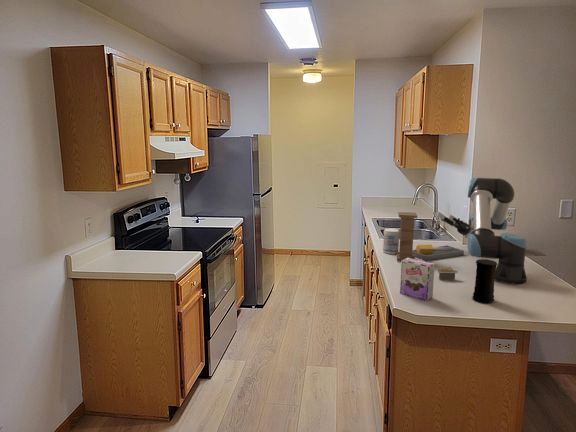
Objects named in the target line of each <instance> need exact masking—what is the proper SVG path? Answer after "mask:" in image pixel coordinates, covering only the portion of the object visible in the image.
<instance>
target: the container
mask: <svg viewBox="0 0 576 432" xmlns="http://www.w3.org/2000/svg"><path fill="white" fill-rule="evenodd" d="M475 264H476V270H475V281H474V282H475V283H474V289H473V293H472V300H473V301H475V302H476V303H479V304H484V305H485V304H486V305H487V304H493V303H494V302H495V294H494V293H495V282H496V281H495V280H496V279H495V273H496V272H495V269H496V267H497V265H498V262H497V261H496V260H492V259H489V258H488V259H487V258H484V259H483V258H480V259H476V261H475Z"/></svg>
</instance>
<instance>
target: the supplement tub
mask: <svg viewBox="0 0 576 432" xmlns="http://www.w3.org/2000/svg"><path fill="white" fill-rule="evenodd" d="M382 245H383V247H382V248H383V249H382V251H383V253H384V254H387V253H388V254H387V255H396V253H397V254H399V248H400V229H397V228H385V229H384V231H383V243H382Z"/></svg>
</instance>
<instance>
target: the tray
mask: <svg viewBox="0 0 576 432" xmlns="http://www.w3.org/2000/svg"><path fill="white" fill-rule="evenodd" d="M438 247H452V251H433V253H432V254H420V253H417V251H416V250H415V249H413V251H412V255H414V258H416V257H417V258H416V259H418V260H421V259H422V260H421V261H424V262H428V261H437V260H440V259H441V260H442V259H448V258H455V257H461V256H464V255H465V250H463V249H459V248H458V247H454V246H451V245H448V244H447V245H440V246H438Z"/></svg>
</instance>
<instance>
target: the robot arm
mask: <svg viewBox="0 0 576 432" xmlns="http://www.w3.org/2000/svg"><path fill="white" fill-rule="evenodd" d="M467 190H468V191H467V198H469V199H470V201H471V202H472V204H473V212H472V213H471V214H470V215H469V217H468V223H467V222H465V221H464V220H461V219H460V218H458V217H456V216H454V215H452V213H451V214H450V213H449V214H448V216H446V215H444V214H443V213H441V212H440V211H437V212H436V214H435V215H436V217H438V218H439V219H440V220H441V221H442V222H444V223H446V224H448V225H449V226H451V227H454V228H455V229H456V230H457V231H456V232H458V233H459V234H460V235H462V236H464V238H467V242H466V243H467V251H468V254H469V256H471V257H474V258H475V257H476V258H482V259H483V258H484V259H487V258H488V259H497V260H498V262H497V266H496V269H495V272H496V273H495V280H496V281H498V282H501V283H504V284H510V285H523V284H526V283H527V280H528V277H527V274H526V273H527V272H526V268H525V261H526V259H525V258H526V249H527V240H526V238H525V237H523V236H520V235H517V234H514V233H507V232H506V233H505V232H503V233H502V232H501V234H500V235H496V234H495V232H494V230H495V231H501V230H502V231H505V230H506V229H507V228H508V227H507V226H508V219H507V218H506V217H507V214H508V209H509V207H510V204H511V203H512V201H513V200H514V198H515V190H514V187H513V185H512V184H510V182H509V181H507V180H505V179H504V178H495V177H494V178H493V177H491V178H490V177H489V178H488V177H472V178H471V179H470V181H469V186H468V189H467ZM493 200H495V204H494V207H493V209H492V214H491V202H492V201H493Z"/></svg>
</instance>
